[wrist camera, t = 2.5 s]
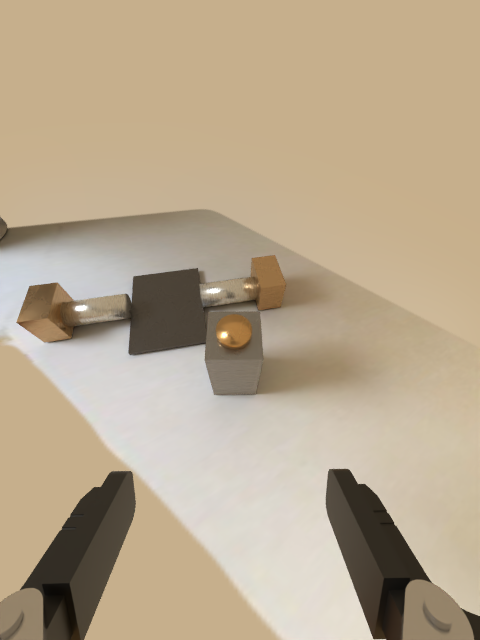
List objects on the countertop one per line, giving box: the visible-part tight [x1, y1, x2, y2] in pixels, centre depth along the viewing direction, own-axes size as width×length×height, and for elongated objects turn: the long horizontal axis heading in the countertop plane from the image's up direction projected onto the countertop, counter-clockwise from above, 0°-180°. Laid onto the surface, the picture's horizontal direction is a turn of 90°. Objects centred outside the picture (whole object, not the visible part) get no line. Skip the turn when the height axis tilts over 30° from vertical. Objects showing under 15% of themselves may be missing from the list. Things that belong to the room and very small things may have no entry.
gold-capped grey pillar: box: [205, 312, 263, 395], centre depth 23 cm, size 4×4×10 cm
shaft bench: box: [16, 255, 286, 355], centre depth 30 cm, size 29×12×4 cm, turn 101°
